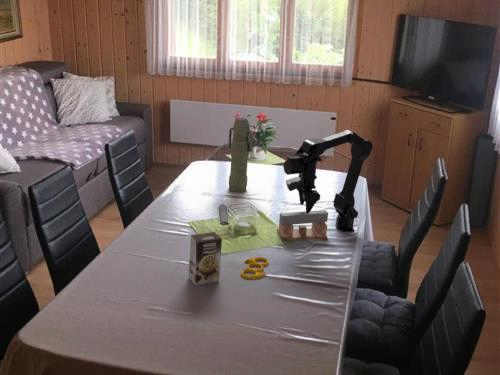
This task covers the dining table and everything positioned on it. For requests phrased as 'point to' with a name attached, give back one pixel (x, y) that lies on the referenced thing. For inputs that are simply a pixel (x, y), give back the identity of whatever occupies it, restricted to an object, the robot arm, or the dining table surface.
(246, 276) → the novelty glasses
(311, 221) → the grey long bar
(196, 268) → the brown food box
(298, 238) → the display stand
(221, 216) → the gray half cylinder
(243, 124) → the thermos
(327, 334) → the dining table surface
